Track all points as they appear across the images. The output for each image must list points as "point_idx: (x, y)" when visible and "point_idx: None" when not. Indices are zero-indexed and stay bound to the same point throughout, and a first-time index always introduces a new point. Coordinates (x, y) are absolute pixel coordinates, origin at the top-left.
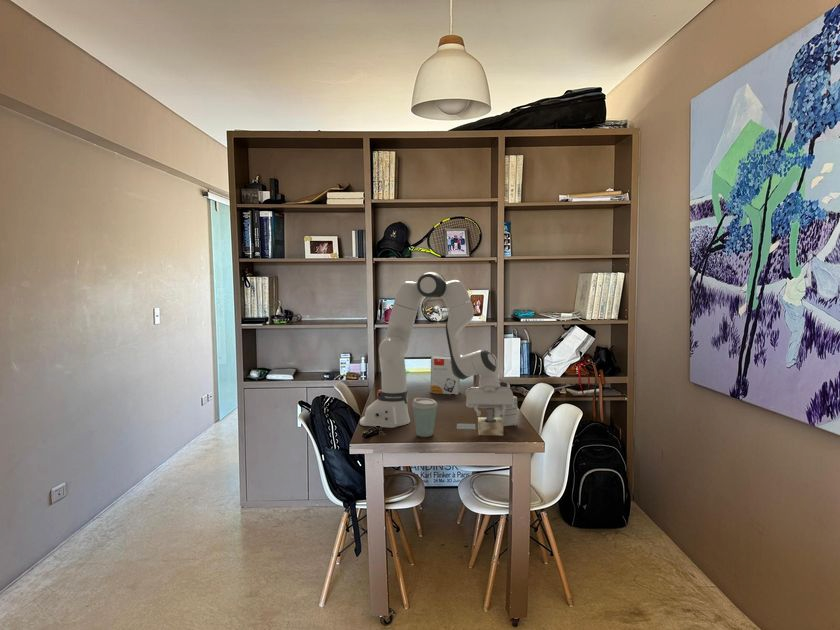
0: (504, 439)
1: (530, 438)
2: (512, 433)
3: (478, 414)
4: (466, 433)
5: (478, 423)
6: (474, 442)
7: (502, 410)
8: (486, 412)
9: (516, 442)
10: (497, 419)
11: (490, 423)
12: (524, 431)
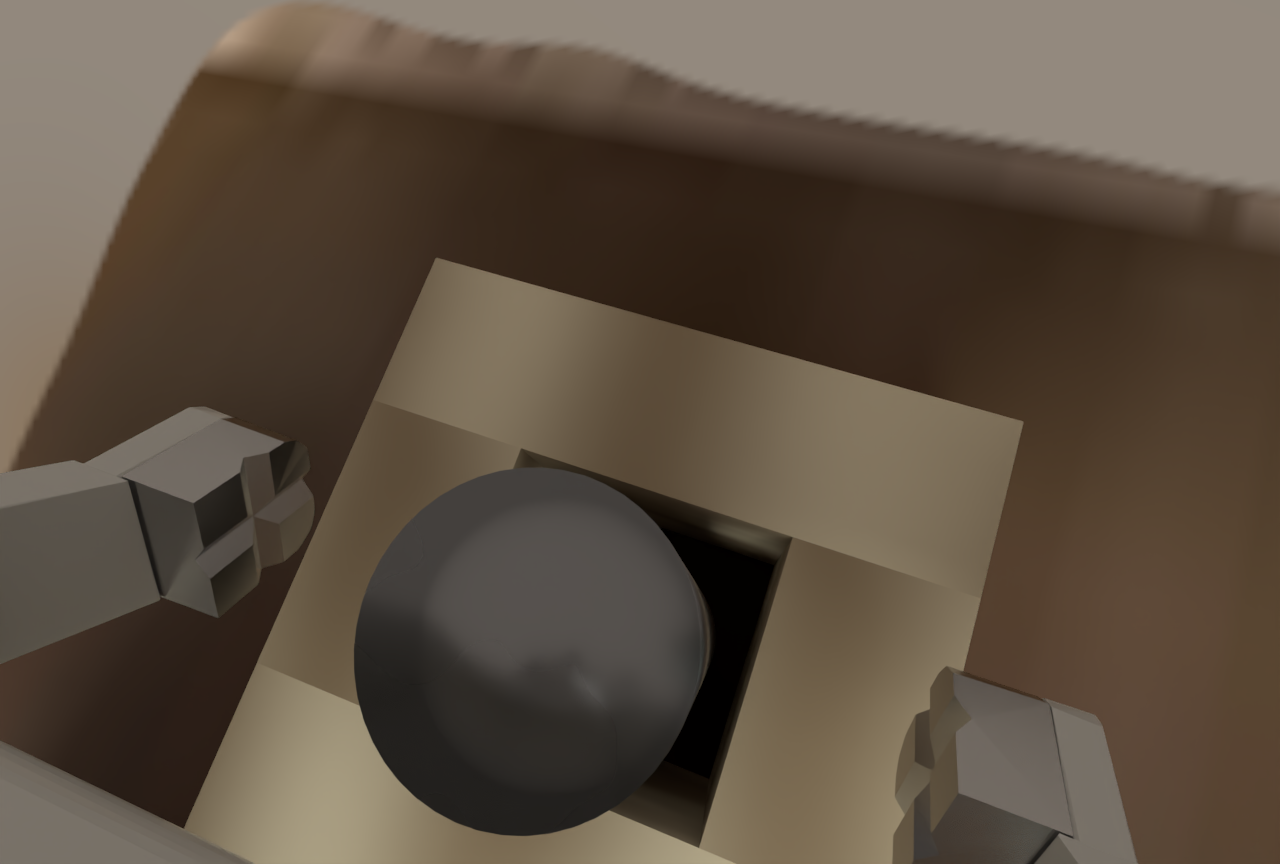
0: (565, 217)
1: (187, 188)
2: None
3: (1036, 706)
4: (1151, 713)
5: (974, 580)
6: (1106, 170)
7: (89, 482)
8: (703, 664)
9: (462, 68)
10: None
11: (697, 389)
12: None
